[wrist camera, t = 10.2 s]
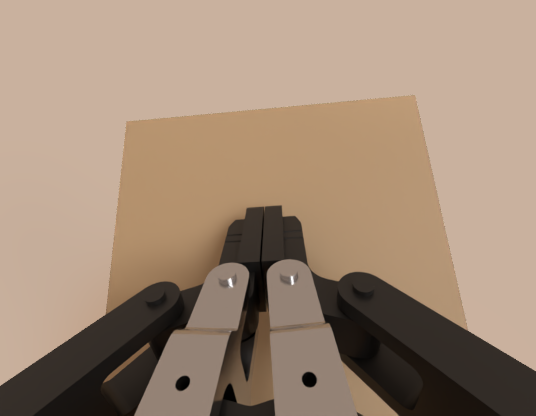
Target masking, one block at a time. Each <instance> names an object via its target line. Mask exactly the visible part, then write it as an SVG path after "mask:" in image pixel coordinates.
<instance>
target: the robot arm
mask: <svg viewBox="0 0 536 416" xmlns="http://www.w3.org/2000/svg"><path fill="white" fill-rule="evenodd" d="M267 306H268V312H269V316H270V345H271V360H272V375H273V389H274V399H272V400H269V401H266V402H263V403H260V404H257V405H253V406H251V384H252V377H253V369H254V362H255V355H256V348H257V341H258V333H259V330H258V324H259V312H266V308H267ZM147 343H149V345H150V347H149V348H148V349H146V350H145V351H144V352H143V353H142V354H140V355H139V356H138V357H137V358H136V359H134V360H133V361H132V362H131V363H130V364H128V365H127V366H126V367H125V368H124V369H122V370H121V371H120V372H119V373H118V374H116V375H115V376H114V377H113V378H112V379H110V380H109V381H107V382H104V380H105V379H106V378H107V377H108V376H109V375H110V374H111V373H112V372H113V371H114V370H116V369H117V368H118V367H119V366H120V365H122V364H123V363H124V362H125V361H126V360H128V359H129V358H130V357H131V356H133V355H134V354H135V353H136V352H137V351H139V350H140V349H141V348H142V347H143V346H145V345H146V344H147ZM341 361H342V362H343V363H344V364H345V365H346V366H347V367H348V368H349V369H351V370H352V371H353V372H354V373H355V374H356V375H357V376H358V377H359V378H360V379H361V380H362V381H363V382H364V383H365V384H366V385H367V386H368V387H369V388H370V389H372V390H373V391H374V392H375V393H376V394H377V395H378V396H379V397H380V398H381V399H382V400H383V401H384V402H385V403H386V404H387V405H388V406H389V407H390V408H391V409H393V410H394V411H395V412H396V413H397V414H398V415H399V416H536V371H534V370H532V369H531V368H529V367H527V366H526V365H524V364H522V363H521V362H519V361H517V360H516V359H514V358H512V357H511V356H509V355H507V354H506V353H504V352H502V351H500V350H499V349H497V348H496V347H494V346H492V345H491V344H489V343H487V342H486V341H484V340H482V339H481V338H479V337H477V336H475V335H474V334H472V333H471V332H469V331H467V330H465V329H464V328H462V327H460V326H459V325H457V324H455V323H454V322H452V321H450V320H449V319H447V318H445V317H444V316H442V315H440V314H439V313H437V312H435V311H434V310H432V309H430V308H429V307H427V306H425V305H424V304H422V303H420V302H419V301H417V300H415V299H414V298H412V297H410V296H409V295H407V294H405V293H403V292H402V291H400V290H398V289H397V288H395V287H393V286H392V285H390V284H388V283H387V282H385V281H383V280H382V279H380V278H378V277H377V276H375V275H372V274H370V273H366V272H352V273H348V274H346V275H344V276H343V277H342V278H341V279H340V280H339V281H335V280H330V279H326V278H323V277H320V276H318V275H317V274H315V273H314V272H313V271H312V270H311V269H310V268H309V266H308V262H307V256H306V250H305V244H304V238H303V232H302V225H301V222H300V221H299V219H298V218H297V217H296V216H284V217H283V214H282V205H277V206H265V210H264V206H263V207H249V208H247V209H246V214H245V219H240V220H235V221H234V222H233V223H232V224H231V225H230V226H229V227H228V231H227V236H226V239H225V243H224V246H223V250H222V254H221V258H220V261H219V265H218V266H217V267H215V268H214V269H213V270H211V271H210V272H209V274H208V275H207V277H206V279H205V282H204V283H203V284H201V285H198V286H195V287H192V288H189V289H185V290H182V291H180V289H179V287H178V286H177V285H176V284H175V283H173V282H168V281H163V282H158V283H155V284H152V285H150V286H148V287H146V288H144V289H143V290H142V291H140V292H139V293H137V294H136V295H134V296H133V297H131V298H130V299H128V300H127V301H125V302H124V303H122V304H121V305H119V306H118V307H116V308H115V309H113V310H112V311H110V312H109V313H107V314H106V315H105V316H103V317H102V318H100V319H99V320H97V321H96V322H94V323H93V324H91V325H90V326H88V327H87V328H85V329H84V330H82V331H81V332H79V333H78V334H76V335H75V336H73V337H72V338H71V339H69V340H68V341H66V342H65V343H63V344H62V345H60V346H59V347H57V348H56V349H54V350H53V351H52V352H50V353H48V354H47V355H45V356H44V357H42V358H41V359H39V360H38V361H36V362H35V363H33V364H32V365H31V366H29V367H28V368H26V369H25V370H23V371H22V372H20V373H19V374H17V375H16V376H14V377H13V378H11V379H10V380H8V381H7V382H5V383H4V384H3V385H1V386H0V416H363V415H361V414H360V413H358V412H356V409H355V405H354V402H353V399H352V395H351V392H350V388H349V385H348V382H347V378H346V375H345V372H344V368H343V365H342V362H341ZM103 382H104V383H103Z"/></svg>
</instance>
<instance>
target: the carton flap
mask: <svg viewBox="0 0 536 416" xmlns="http://www.w3.org/2000/svg"><path fill="white" fill-rule="evenodd" d="M277 205H282V214H283V217H284V216H296V217H297V218H298V219H299V221H300V222H301V225H302V232H303V238H304V244H305V250H306V256H307V262H308V266H309V268H310V269H311V270H312V271H313V272H314V273H315V274H317V275H318V276H320V277H323V278H326V279H330V280H335V281H339V280H340V279H341V278H342V277H343V276H344V275H346V274H348V273H352V272H366V273H370V274H372V275H375V276H377V277H378V278H380V279H382V280H383V281H385V282H387V283H388V284H390V285H392V286H393V287H395V288H397V289H398V290H400V291H402V292H403V293H405V294H407V295H409V296H410V297H412V298H414V299H415V300H417V301H419V302H420V303H422V304H424V305H425V306H427V307H429V308H430V309H432V310H434V311H435V312H437V313H439V314H440V315H442V316H444V317H445V318H447V319H449V320H450V321H452V322H454V323H455V324H457V325H459V326H460V327H462V328H464V329H465V330H467V331H468V329H467V324H466V319H465V315H464V311H463V306H462V302H461V298H460V293H459V288H458V284H457V280H456V275H455V271H454V266H453V262H452V257H451V253H450V248H449V244H448V240H447V235H446V231H445V226H444V222H443V217H442V213H441V209H440V204H439V200H438V195H437V191H436V186H435V182H434V178H433V173H432V169H431V164H430V160H429V155H428V151H427V146H426V142H425V137H424V133H423V129H422V124H421V120H420V115H419V111H418V106H417V102H416V97H415V95H411V96H401V97H390V98H378V99H367V100H357V101H347V102H335V103H324V104H313V105H302V106H291V107H281V108H270V109H258V110H248V111H237V112H227V113H215V114H205V115H193V116H184V117H183V116H182V117H171V118H161V119H151V120H139V121H128V122H127V123H126V132H125V141H124V151H123V161H122V169H121V178H120V188H119V198H118V206H117V216H116V226H115V235H114V243H113V253H112V262H111V271H110V281H109V290H108V299H107V309H106V314H107V313H109V312H110V311H112V310H113V309H115V308H116V307H118V306H119V305H121V304H122V303H124V302H125V301H127V300H128V299H130V298H131V297H133V296H134V295H136V294H137V293H139V292H140V291H142V290H143V289H144V288H146V287H148V286H150V285H152V284H155V283H158V282H163V281H168V282H173V283H175V284H176V285H177V286H178V287H179V289H180V291H182V290H185V289H189V288H192V287H195V286H198V285H201V284H203V283H204V282H205V279H206V277H207V275H208V274H209V272H210V271H211V270H213V269H214V268H215V267H217V266H218V265H219V261H220V258H221V254H222V250H223V246H224V243H225V239H226V236H227V231H228V227H229V226H230V225H231V224H232V223H233V222H234V221H235V220H240V219H245V214H246V209H247V208H249V207H263V206H264V210H265V206H277ZM258 330H259V333H258V341H257V348H256V355H255V362H254V369H253V377H252V384H251V406H253V405H257V404H260V403H263V402H266V401H269V400H272V399H274V389H273V375H272V360H271V345H270V316H269V312H268V306H267V308H266V312H259V324H258ZM149 347H150V345H149V343H147V344H146V345H145V346H143V347H142V348H141V349H140V350H139V351H137V352H136V353H135V354H134V355H133V356H131V357H130V358H129V359H128V360H126V361H125V362H124V363H123V364H122V365H120V366H119V367H118V368H117V369H116V370H114V371H113V372H112V373H111V374H110V375H109V376H108V377H107V378H106V379H105V380H104V382H107V381H109V380H110V379H112V378H113V377H114V376H115V375H116V374H118V373H119V372H120V371H121V370H122V369H124V368H125V367H126V366H127V365H128V364H130V363H131V362H132V361H133V360H134V359H136V358H137V357H138V356H139V355H140V354H142V353H143V352H144V351H145V350H146V349H148V348H149ZM341 362H342V361H341ZM342 365H343V368H344V372H345V375H346V378H347V382H348V385H349V388H350V392H351V395H352V399H353V402H354V405H355V409H356V412H358V413H360V414H361V415H363V416H399V415H398V414H397V413H396V412H395V411H394V410H393V409H391V408H390V407H389V406H388V405H387V404H386V403H385V402H384V401H383V400H382V399H381V398H380V397H379V396H378V395H377V394H376V393H375V392H374V391H373V390H372V389H370V388H369V387H368V386H367V385H366V384H365V383H364V382H363V381H362V380H361V379H360V378H359V377H358V376H357V375H356V374H355V373H354V372H353V371H352V370H351V369H349V368H348V367H347V366H346V365H345V364H344V363H343V362H342ZM104 382H103V383H104Z"/></svg>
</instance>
